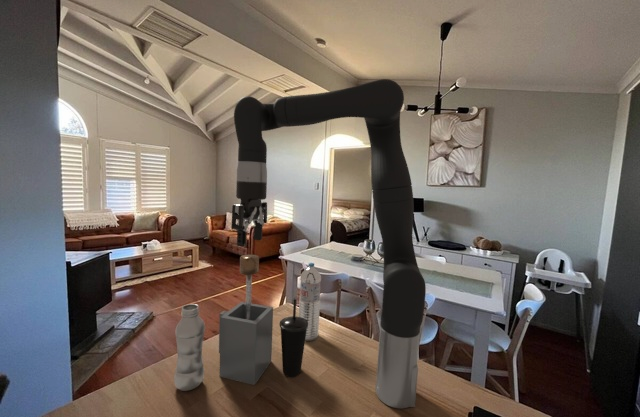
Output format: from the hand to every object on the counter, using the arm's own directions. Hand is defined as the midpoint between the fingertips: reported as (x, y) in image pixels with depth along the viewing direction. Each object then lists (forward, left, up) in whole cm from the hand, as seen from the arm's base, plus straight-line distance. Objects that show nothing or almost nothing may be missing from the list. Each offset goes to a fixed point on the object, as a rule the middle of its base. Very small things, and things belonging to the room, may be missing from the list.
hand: (250, 242), depth 73 cm
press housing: (+2, 0, -35) cm, 35 cm away
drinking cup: (-12, -3, -35) cm, 37 cm away
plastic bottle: (+10, +10, -35) cm, 38 cm away
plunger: (0, 0, -24) cm, 24 cm away
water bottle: (-11, -21, -35) cm, 42 cm away
